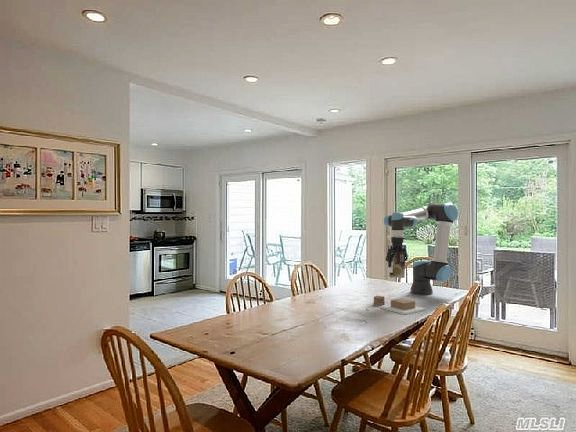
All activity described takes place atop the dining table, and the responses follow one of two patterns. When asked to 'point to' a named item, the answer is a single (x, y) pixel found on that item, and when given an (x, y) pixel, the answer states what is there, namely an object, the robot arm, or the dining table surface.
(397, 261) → the coffee box
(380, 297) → the brick
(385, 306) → the tower base
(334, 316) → the dining table surface
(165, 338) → the dining table surface
